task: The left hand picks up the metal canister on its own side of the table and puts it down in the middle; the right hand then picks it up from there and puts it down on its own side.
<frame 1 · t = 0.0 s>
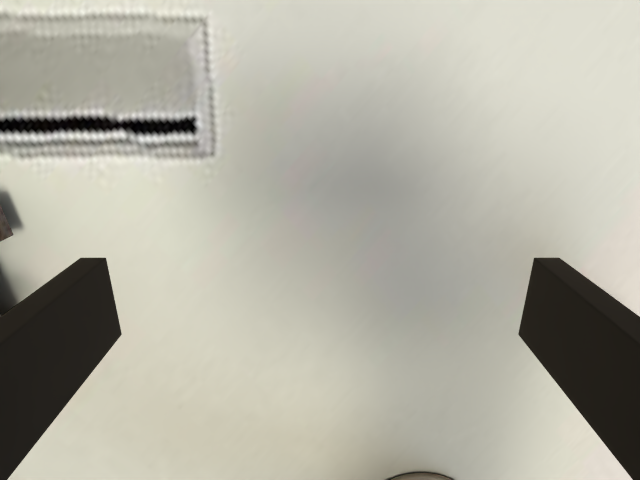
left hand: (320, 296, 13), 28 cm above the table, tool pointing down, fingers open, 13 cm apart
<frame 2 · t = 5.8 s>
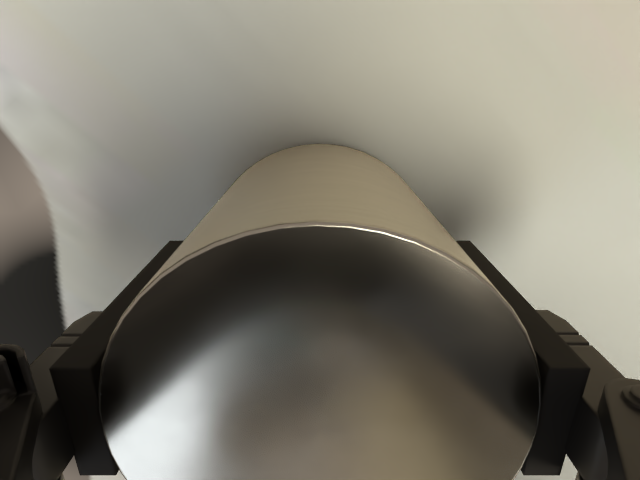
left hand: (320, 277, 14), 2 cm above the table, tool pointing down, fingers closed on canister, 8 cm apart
canister: (319, 253, 16), on the table, touching left hand
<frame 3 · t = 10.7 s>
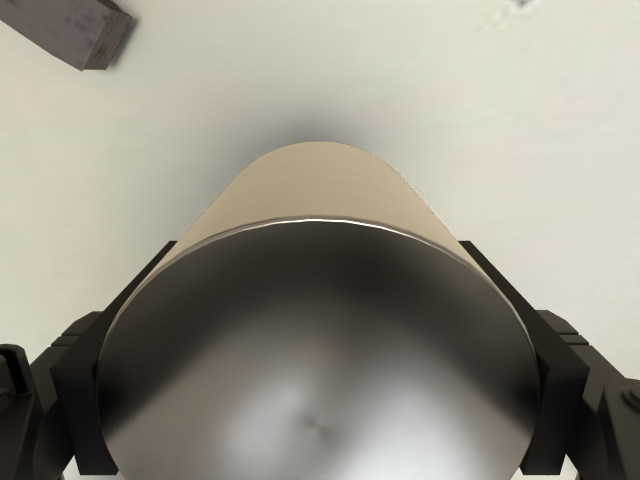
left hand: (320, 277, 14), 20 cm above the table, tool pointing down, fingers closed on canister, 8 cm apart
canister: (318, 251, 16), point 17 cm above the table, touching left hand
when the left hand's fingers open (4 cm above the table, at t = 15.7 s): canister drops 2 cm, on the table.
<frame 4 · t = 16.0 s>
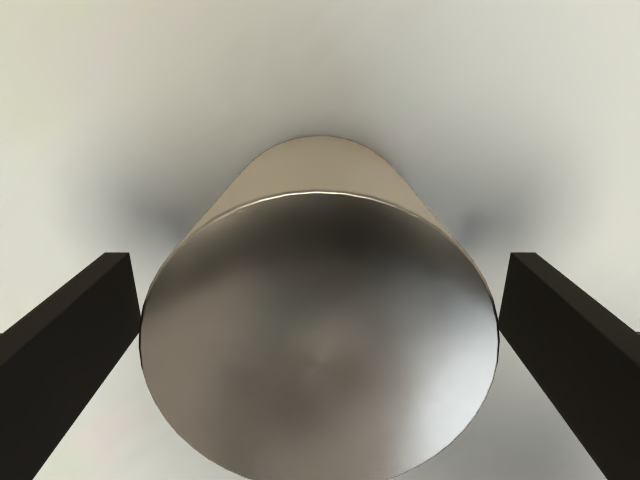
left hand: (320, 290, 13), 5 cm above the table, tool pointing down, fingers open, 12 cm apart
canister: (319, 235, 18), on the table
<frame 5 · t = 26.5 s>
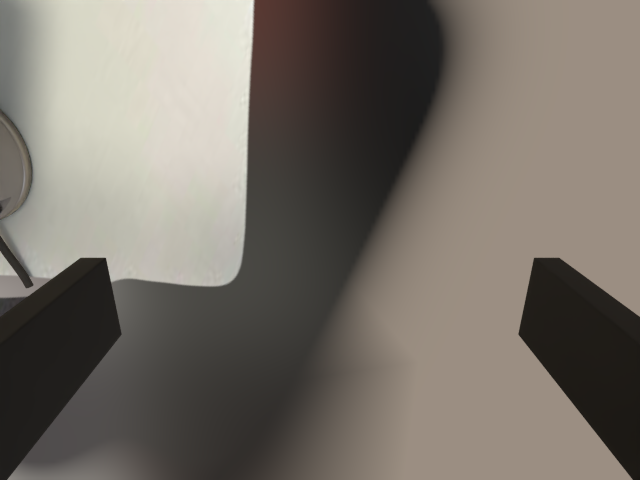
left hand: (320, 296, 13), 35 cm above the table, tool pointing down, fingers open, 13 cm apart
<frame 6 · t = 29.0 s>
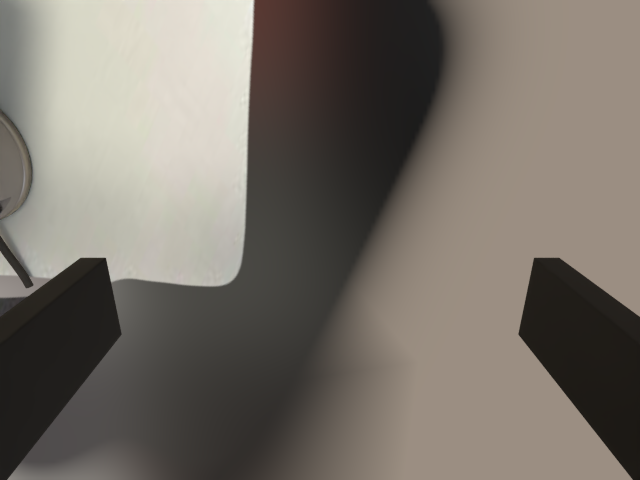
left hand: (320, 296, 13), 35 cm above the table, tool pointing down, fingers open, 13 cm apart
when the right hand's fingers open (4 cm above the table, at t = 31.7 s): canister drops 2 cm, on the table.
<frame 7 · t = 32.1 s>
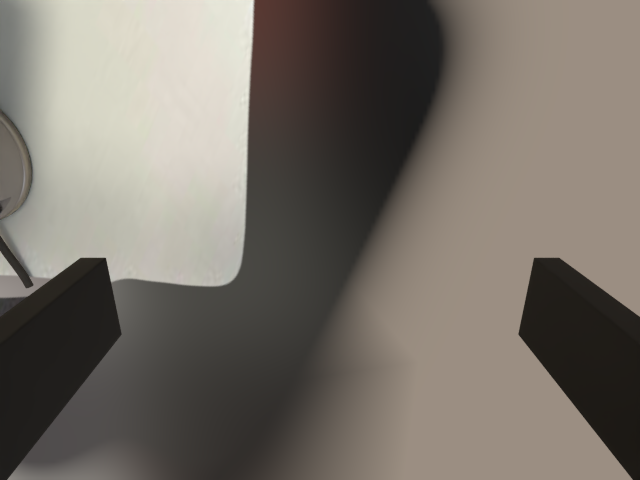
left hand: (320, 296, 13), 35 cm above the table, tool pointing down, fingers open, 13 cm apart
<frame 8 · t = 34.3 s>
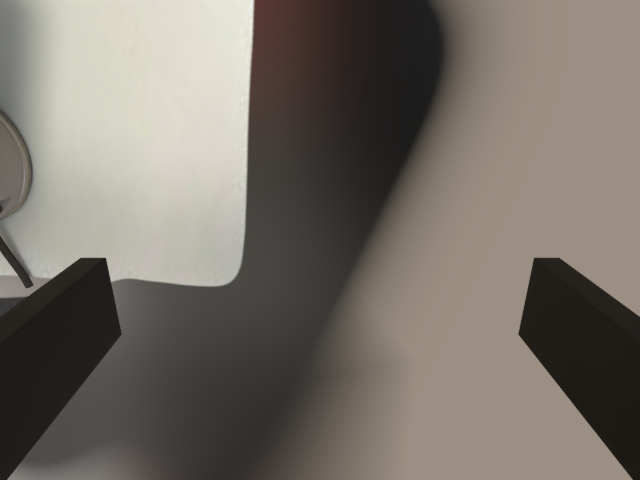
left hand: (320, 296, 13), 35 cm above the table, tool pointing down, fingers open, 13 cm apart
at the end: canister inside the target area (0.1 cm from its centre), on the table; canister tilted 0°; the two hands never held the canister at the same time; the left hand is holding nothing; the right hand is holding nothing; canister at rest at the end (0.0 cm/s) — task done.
